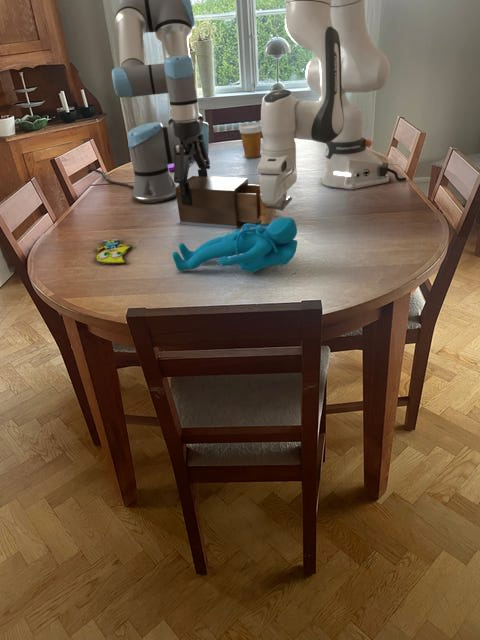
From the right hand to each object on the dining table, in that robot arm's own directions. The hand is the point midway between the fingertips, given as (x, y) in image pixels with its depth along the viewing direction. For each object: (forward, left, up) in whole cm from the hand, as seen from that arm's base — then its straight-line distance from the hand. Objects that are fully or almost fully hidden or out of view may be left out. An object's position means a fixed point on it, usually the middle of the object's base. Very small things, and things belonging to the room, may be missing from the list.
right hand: (280, 208), depth 135 cm
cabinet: (+18, -10, -4) cm, 21 cm away
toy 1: (+48, +5, -4) cm, 48 cm away
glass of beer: (-5, -77, -4) cm, 77 cm away
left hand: (+23, -13, +2) cm, 26 cm away
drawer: (+8, -4, -3) cm, 10 cm away
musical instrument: (+28, -79, -4) cm, 84 cm away
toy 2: (+17, +24, -4) cm, 30 cm away
